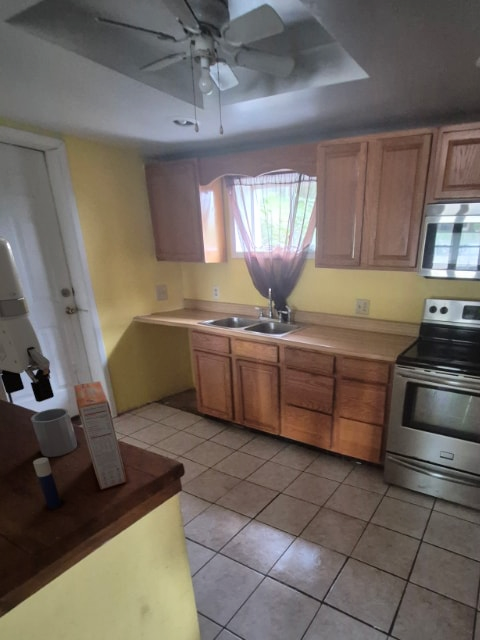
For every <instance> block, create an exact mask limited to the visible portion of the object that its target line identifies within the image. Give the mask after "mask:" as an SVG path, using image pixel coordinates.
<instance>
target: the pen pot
mask: <svg viewBox="0 0 480 640" xmlns="http://www.w3.org/2000/svg"><path fill="white" fill-rule="evenodd" d="M30 422H31V425H32V428H33V431H34V434H35V439H36V441H37V445H38V449H39V451H40V453H41V455H42V456H44V457H46V458H55V457H60V456H65V455H66V454H69V453H71V452H73V451H74V450H75V449H76V448H77V447H78V441H77V437H76V434H75V430H74V426H73V422H72V418H71V414H70V411H69V410H68V409H67V408H62V407H61V408H59V407H58V408H57V407H56V408H50V409H46V410H42V411H39V412H37V413H34V414H33V415H32V416H31V417H30Z"/></svg>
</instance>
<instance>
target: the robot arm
mask: <svg viewBox="0 0 480 640" xmlns="http://www.w3.org/2000/svg"><path fill="white" fill-rule="evenodd" d="M30 316H31V312H30V309H29V306H28V302H27V299H26V295H25V292H24V287H23V284H22V281H21V277H20V274H19V270H18V267H17V263H16V260H15V257H14V253H13V249H12V246H11V244H10V242H9V241H8V240H7V238H5V237H3V236H0V379H1V382H2V384H3V385H2V386H3V387H4V390H5V393H6V394H9V395H10V394H13V393H16V392H20V391H22V390H24V389H25V386H24V382H23V379H22V376H21V374H23V373H24V372H25V374H26V375H27V377H29V379H30V380H31V382H30V386H31V391H32V393H33V396H34V400H35V402H37V403H42V402H44V401H47V400H50V399H52V398H54V396H55V394H54V392H53V391H54V390H53V387H52V384H51V381H50V379H51V375H50V374H51V369H50V368H51V367H50V366H51V362H50V360H49V359H48V358H47V357H46V356H44V353H43V350H42V346H41V344H40V341H39V338H38V335H37V332H36V329H35V327H34V324H33V322H32V321H31V318H30ZM35 371H36V372H35Z"/></svg>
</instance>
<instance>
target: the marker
mask: <svg viewBox="0 0 480 640" xmlns="http://www.w3.org/2000/svg"><path fill="white" fill-rule="evenodd" d="M49 461H50V460H49V457H39V458H37V459H35V460H33V462H32V464H33V467H34V470H35V474H36V476H37V478H38V481H39V485H40V488H41V491H42V494H43V496H44V500H45V503H46V506H47V508H48V509H50V510H52V509H56V508H59V507H60V506H61V504H62V501H61V497H60V495H59V491H58V487H57V484H56V482H55V479H54V478H55V477H54V475H53V472H52V470H53V469H52V468H51V464H50V462H49Z"/></svg>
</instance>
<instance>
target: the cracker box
mask: <svg viewBox="0 0 480 640" xmlns="http://www.w3.org/2000/svg"><path fill="white" fill-rule="evenodd" d="M73 390H74V396H75V401H76V406H77V412H78V415H79V419H80V423H81V427H82V430H83V434H84V438H85V442H86V446H87V448H88V452H89V456H90V459H91V462H92V463H91V464H92V466H93V470H94V473H95V476H96V479H97V483H98V485H99V489H100V490H106V489H109V488H112V487H115V486H119V485H122V484H125V483H127V482H128V480H127V477H126V473H125V467H124V464H123V460H122V455H121V451H120V447H119V442H118V438H117V434H116V433H117V432H116V429H115V424H114V419H113V416H112V411H111V406H110V402H109V400H108V398H107V397H108V396H107V395H106V393H105V390H104V388H103V385H102V382H101V381H99V380H98V381H94V382H88V383H81V384H76V385H73Z"/></svg>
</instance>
